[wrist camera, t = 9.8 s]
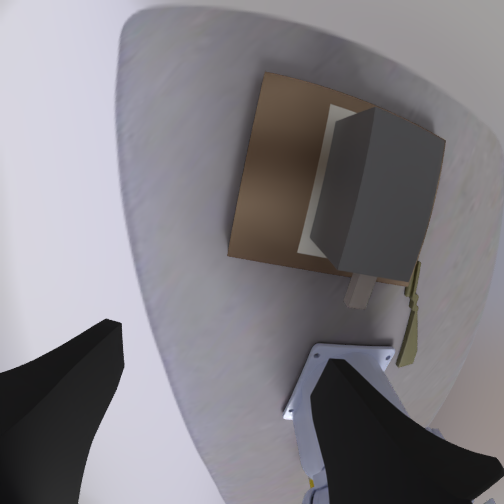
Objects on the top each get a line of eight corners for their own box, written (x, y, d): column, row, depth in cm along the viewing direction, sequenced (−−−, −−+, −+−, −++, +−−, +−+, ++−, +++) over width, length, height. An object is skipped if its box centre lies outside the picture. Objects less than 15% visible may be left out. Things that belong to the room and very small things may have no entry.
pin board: (400, 280, 18) (426, 303, 15) (228, 249, 17) (224, 273, 13) (435, 140, 15) (470, 140, 11) (263, 77, 14) (269, 55, 10)
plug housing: (358, 278, 17) (393, 318, 12) (301, 269, 16) (323, 311, 11) (393, 143, 14) (444, 141, 9) (335, 121, 14) (375, 106, 9)
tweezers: (411, 357, 22) (415, 363, 21) (394, 364, 22) (397, 370, 21) (422, 238, 18) (429, 242, 17) (402, 243, 18) (409, 247, 17)
